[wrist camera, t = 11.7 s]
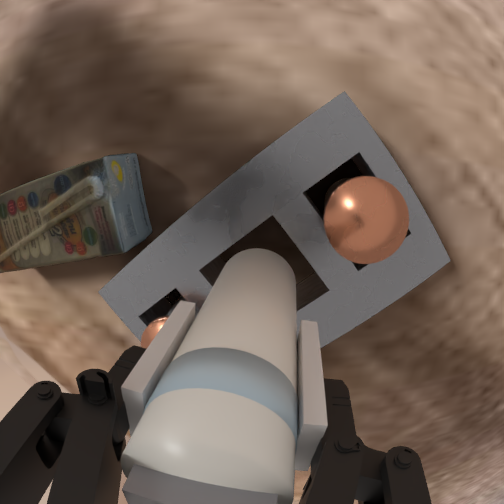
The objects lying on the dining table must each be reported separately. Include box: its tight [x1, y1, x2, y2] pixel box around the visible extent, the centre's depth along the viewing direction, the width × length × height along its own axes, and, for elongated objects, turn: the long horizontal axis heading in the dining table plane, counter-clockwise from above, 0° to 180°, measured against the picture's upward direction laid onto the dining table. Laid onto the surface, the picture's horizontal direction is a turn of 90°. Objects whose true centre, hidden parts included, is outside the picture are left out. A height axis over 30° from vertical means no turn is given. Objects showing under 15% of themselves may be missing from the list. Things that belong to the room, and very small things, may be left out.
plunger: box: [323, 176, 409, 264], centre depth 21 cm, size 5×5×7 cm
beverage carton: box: [0, 153, 152, 273], centre depth 26 cm, size 8×19×7 cm, turn 99°
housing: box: [99, 91, 451, 348], centre depth 25 cm, size 14×24×5 cm, turn 128°
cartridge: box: [121, 248, 298, 504], centre depth 14 cm, size 5×5×16 cm
